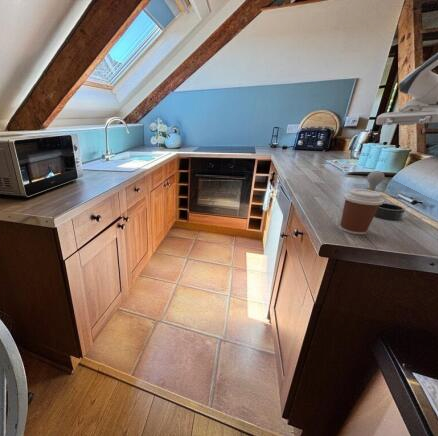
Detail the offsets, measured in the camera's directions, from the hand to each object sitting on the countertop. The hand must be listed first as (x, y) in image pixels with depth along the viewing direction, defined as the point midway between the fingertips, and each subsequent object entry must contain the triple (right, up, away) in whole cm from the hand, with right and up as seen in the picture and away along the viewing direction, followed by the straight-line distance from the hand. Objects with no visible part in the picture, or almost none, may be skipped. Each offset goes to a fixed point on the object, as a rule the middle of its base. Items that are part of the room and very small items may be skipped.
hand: (405, 122), depth 101 cm
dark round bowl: (-25, -39, -17) cm, 50 cm away
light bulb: (-8, -29, +7) cm, 31 cm away
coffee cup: (-44, -44, -26) cm, 68 cm away
